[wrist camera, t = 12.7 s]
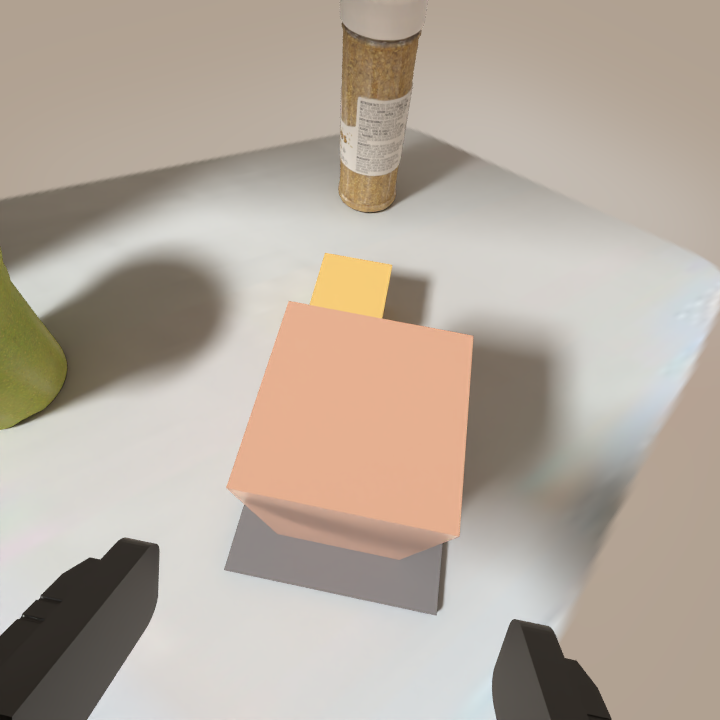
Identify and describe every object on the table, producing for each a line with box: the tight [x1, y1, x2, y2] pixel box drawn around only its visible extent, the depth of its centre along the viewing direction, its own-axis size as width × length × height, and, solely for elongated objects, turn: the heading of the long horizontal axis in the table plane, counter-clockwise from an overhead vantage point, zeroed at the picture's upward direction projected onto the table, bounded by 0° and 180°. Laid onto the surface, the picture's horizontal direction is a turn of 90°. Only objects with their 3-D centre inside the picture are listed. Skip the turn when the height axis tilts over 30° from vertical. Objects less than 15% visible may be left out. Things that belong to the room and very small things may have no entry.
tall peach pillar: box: [226, 301, 473, 560], centre depth 17 cm, size 6×6×11 cm
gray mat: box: [224, 504, 443, 615], centre depth 22 cm, size 10×10×1 cm
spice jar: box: [338, 0, 428, 212], centre depth 27 cm, size 5×5×14 cm
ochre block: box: [310, 253, 392, 318], centre depth 25 cm, size 4×4×4 cm
